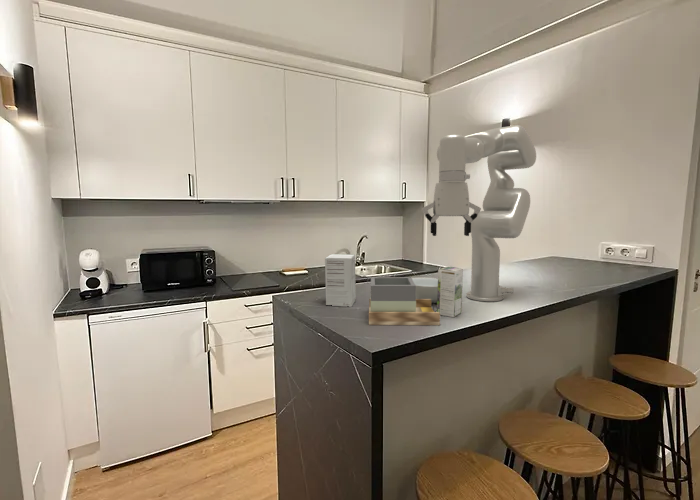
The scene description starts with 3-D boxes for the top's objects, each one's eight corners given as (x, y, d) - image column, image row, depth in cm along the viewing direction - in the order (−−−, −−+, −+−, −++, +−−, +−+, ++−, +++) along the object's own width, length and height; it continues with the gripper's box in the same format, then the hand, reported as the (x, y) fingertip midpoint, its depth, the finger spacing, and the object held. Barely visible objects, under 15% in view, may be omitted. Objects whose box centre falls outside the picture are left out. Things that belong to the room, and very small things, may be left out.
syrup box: (444, 310, 117) (445, 266, 116) (462, 313, 113) (463, 267, 112) (436, 314, 113) (437, 268, 111) (454, 318, 109) (455, 270, 107)
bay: (430, 309, 118) (430, 298, 118) (439, 325, 102) (439, 313, 102) (369, 309, 120) (369, 298, 119) (368, 324, 104) (368, 312, 103)
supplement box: (331, 299, 134) (330, 253, 132) (356, 299, 132) (355, 254, 130) (325, 306, 124) (324, 257, 122) (351, 307, 123) (351, 257, 121)
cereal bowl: (454, 307, 120) (454, 286, 120) (403, 305, 124) (403, 285, 123) (450, 295, 137) (450, 277, 136) (405, 294, 140) (406, 276, 139)
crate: (411, 306, 117) (411, 277, 116) (415, 318, 104) (416, 285, 103) (370, 306, 118) (370, 277, 117) (370, 318, 105) (370, 285, 104)
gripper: (477, 179, 111) (475, 234, 113) (420, 179, 113) (419, 234, 114) (485, 177, 104) (483, 236, 106) (424, 177, 105) (423, 236, 107)
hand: (450, 235), depth 110 cm, fingers open, 9 cm apart
